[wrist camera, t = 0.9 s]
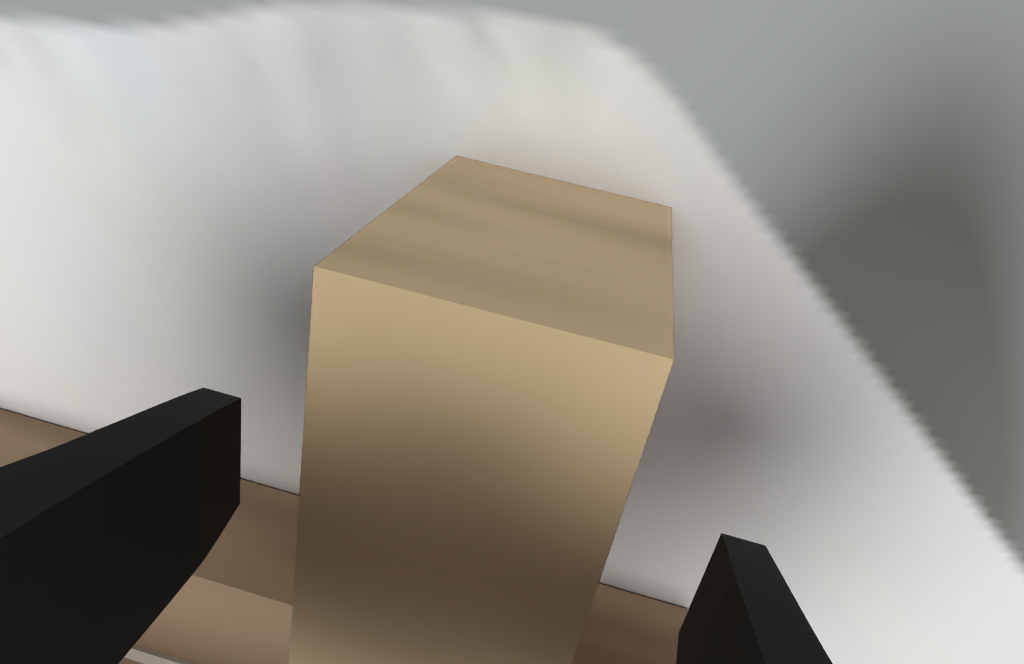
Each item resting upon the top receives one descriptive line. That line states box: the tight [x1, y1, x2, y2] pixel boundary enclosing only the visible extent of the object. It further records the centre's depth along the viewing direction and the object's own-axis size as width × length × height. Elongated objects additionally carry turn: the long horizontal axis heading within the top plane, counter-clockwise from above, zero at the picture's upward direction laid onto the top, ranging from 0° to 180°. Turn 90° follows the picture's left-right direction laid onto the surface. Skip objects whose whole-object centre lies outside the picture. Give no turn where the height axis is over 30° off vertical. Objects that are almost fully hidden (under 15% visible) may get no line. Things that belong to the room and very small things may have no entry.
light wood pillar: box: [289, 156, 674, 664], centre depth 13 cm, size 13×4×6 cm, turn 169°
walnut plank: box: [0, 409, 688, 664], centre depth 18 cm, size 8×24×3 cm, turn 79°
